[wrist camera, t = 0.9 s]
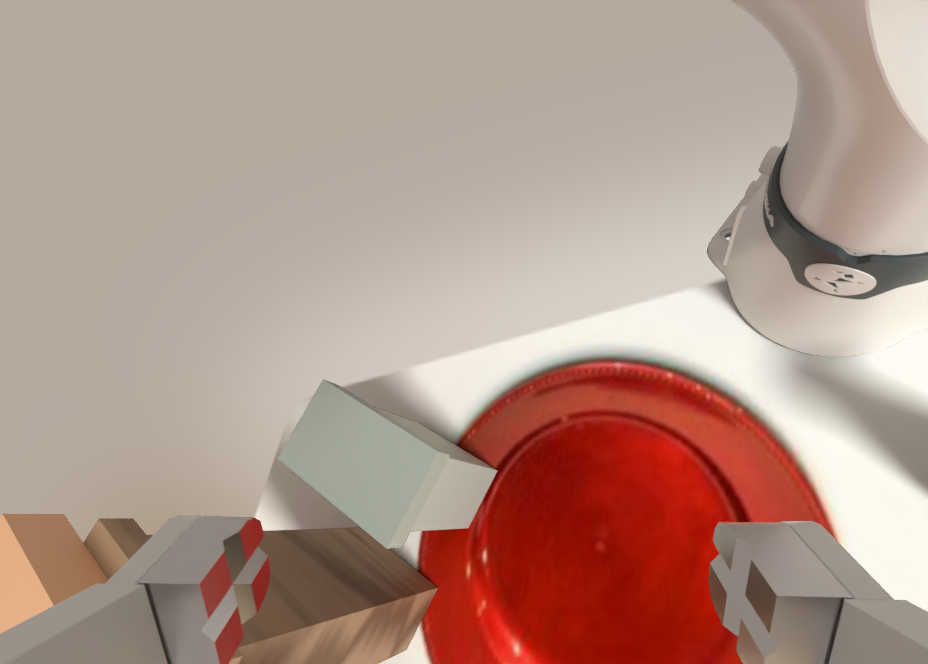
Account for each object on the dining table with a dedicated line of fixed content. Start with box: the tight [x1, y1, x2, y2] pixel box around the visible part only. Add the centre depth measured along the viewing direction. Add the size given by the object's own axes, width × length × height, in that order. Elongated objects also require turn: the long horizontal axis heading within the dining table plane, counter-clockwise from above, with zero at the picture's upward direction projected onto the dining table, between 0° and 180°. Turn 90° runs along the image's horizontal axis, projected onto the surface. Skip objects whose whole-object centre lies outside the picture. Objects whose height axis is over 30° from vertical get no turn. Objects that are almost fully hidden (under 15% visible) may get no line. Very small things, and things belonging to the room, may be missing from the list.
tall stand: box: [84, 519, 438, 664], centre depth 35 cm, size 7×12×26 cm, turn 60°
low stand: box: [278, 380, 497, 549], centre depth 41 cm, size 7×12×16 cm, turn 60°
